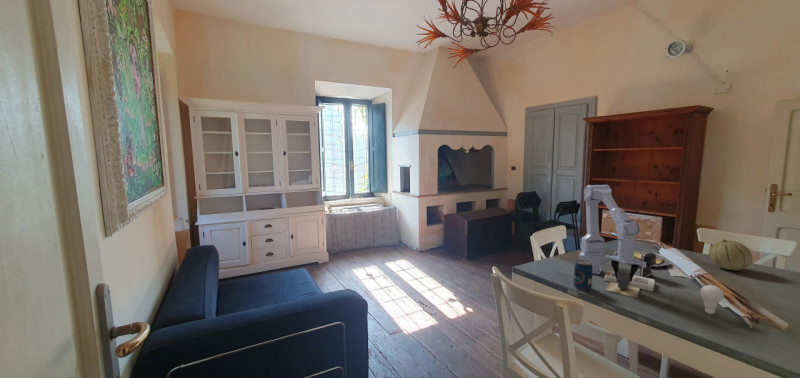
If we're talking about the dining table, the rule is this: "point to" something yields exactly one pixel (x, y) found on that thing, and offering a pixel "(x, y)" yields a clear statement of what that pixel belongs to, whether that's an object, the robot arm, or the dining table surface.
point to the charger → (623, 277)
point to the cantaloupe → (731, 255)
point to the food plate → (637, 254)
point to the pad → (623, 290)
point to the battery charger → (647, 264)
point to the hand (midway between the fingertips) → (623, 279)
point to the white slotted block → (648, 286)
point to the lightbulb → (711, 297)
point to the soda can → (583, 275)
